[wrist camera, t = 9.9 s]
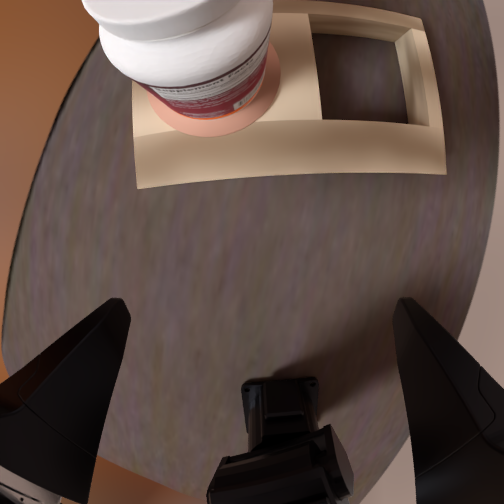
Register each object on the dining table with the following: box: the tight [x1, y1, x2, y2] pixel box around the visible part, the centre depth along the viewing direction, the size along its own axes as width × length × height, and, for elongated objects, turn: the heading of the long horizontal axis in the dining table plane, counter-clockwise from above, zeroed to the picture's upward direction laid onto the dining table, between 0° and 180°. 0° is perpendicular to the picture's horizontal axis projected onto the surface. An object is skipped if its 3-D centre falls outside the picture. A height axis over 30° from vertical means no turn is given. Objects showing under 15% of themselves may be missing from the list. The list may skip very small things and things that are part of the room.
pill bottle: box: [82, 0, 273, 121], centre depth 10 cm, size 6×6×11 cm
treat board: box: [132, 0, 446, 189], centre depth 17 cm, size 12×20×3 cm, turn 94°
